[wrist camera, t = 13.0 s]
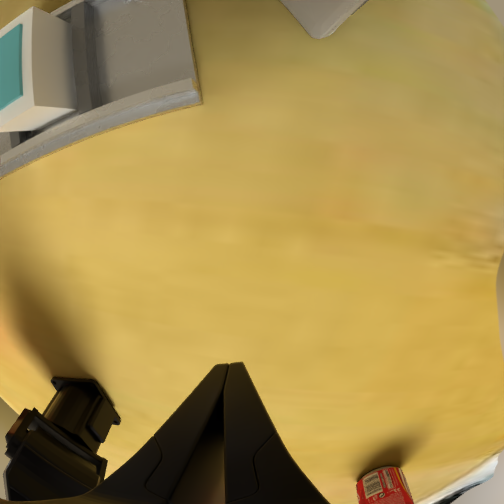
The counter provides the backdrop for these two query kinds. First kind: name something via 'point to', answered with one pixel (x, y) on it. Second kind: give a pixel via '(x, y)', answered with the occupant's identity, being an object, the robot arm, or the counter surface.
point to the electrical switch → (322, 14)
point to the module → (36, 71)
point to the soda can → (384, 487)
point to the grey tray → (115, 74)
